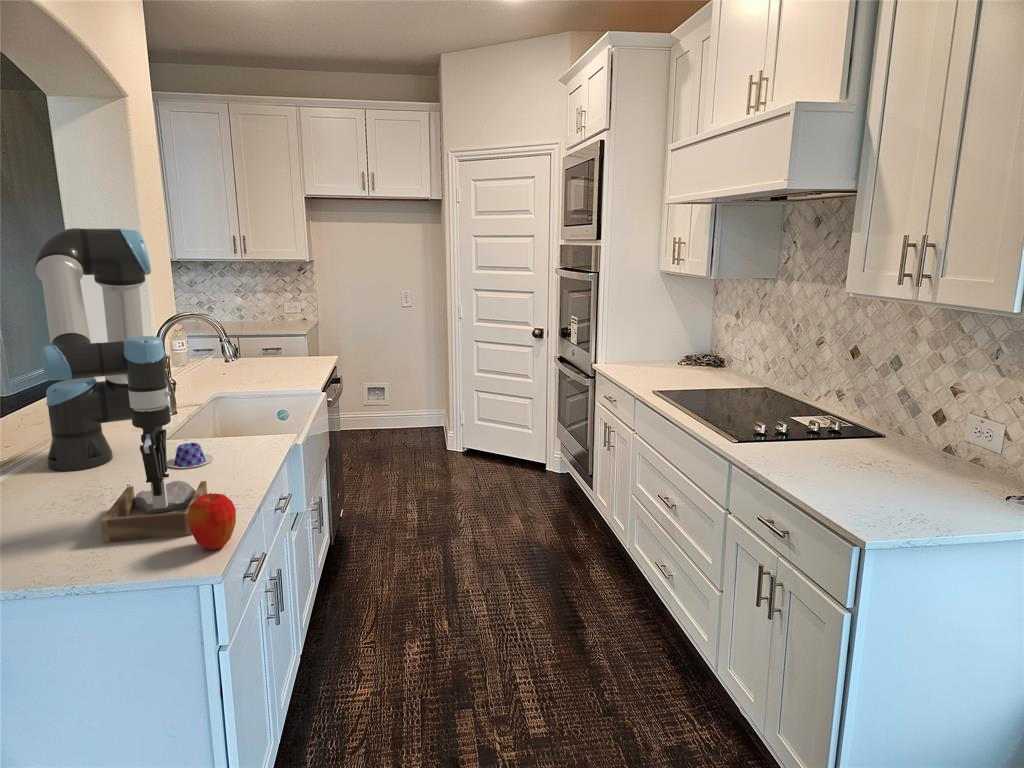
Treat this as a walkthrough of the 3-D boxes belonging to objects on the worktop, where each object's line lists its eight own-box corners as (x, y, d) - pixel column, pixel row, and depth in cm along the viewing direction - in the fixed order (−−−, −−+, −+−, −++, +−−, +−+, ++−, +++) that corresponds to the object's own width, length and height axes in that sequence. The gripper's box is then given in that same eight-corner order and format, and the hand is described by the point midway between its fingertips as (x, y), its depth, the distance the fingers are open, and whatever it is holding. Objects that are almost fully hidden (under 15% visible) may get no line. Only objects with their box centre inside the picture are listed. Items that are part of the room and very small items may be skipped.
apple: (183, 545, 136) (178, 491, 133) (227, 532, 142) (223, 480, 139) (200, 561, 129) (195, 505, 127) (245, 547, 136) (241, 493, 133)
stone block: (203, 509, 158) (183, 491, 163) (202, 492, 156) (183, 474, 162) (151, 526, 149) (132, 506, 155) (150, 509, 147) (131, 489, 153)
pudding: (210, 468, 181) (208, 450, 179) (162, 472, 177) (160, 453, 176) (216, 454, 192) (214, 437, 191) (171, 457, 188) (169, 440, 187)
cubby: (130, 506, 154) (127, 486, 153) (208, 500, 159) (206, 481, 158) (103, 543, 136) (100, 520, 135) (192, 534, 141) (190, 513, 139)
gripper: (161, 414, 139) (172, 517, 144) (175, 399, 151) (184, 494, 156) (122, 415, 137) (134, 520, 142) (139, 400, 149) (149, 497, 154)
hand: (160, 506), depth 149 cm, fingers closed
